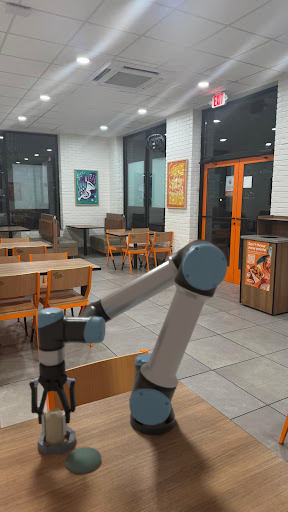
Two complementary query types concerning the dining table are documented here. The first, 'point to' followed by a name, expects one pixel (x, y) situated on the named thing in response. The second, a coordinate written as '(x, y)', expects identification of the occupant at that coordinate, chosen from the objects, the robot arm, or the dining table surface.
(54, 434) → the candle
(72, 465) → the coaster
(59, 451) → the holder ring
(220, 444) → the dining table surface
